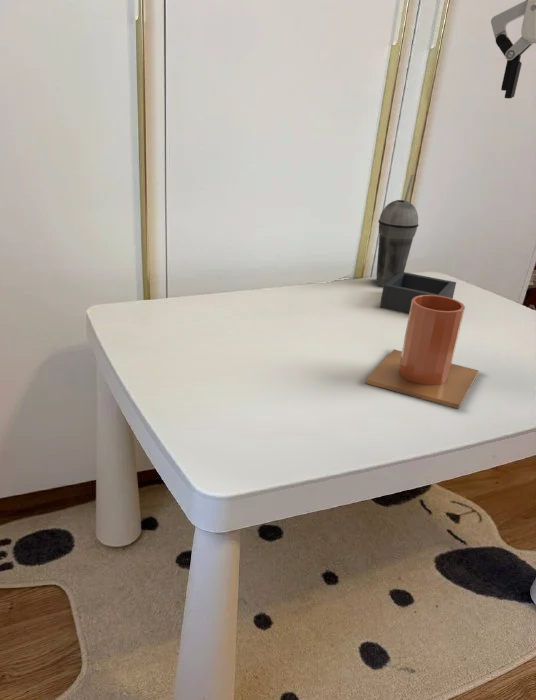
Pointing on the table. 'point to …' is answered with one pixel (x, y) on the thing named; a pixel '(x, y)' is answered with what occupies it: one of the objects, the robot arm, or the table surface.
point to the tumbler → (430, 339)
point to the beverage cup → (395, 237)
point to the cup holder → (412, 290)
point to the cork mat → (442, 393)
